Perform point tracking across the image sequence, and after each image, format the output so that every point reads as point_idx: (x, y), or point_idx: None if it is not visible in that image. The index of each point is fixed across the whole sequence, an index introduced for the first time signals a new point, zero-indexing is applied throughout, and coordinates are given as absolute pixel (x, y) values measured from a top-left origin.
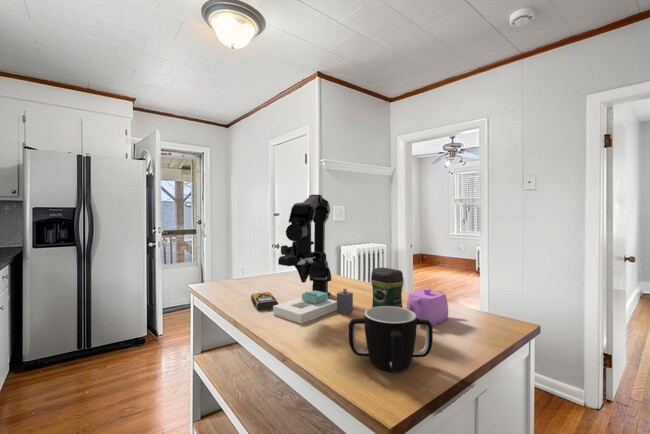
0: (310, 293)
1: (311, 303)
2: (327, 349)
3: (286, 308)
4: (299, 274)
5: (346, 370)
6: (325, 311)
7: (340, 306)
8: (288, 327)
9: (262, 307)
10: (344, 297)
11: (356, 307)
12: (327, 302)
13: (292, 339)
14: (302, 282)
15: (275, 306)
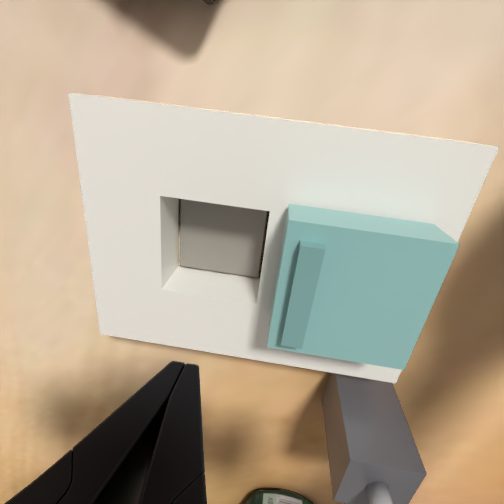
0: (295, 303)
1: None
2: (57, 445)
3: (105, 216)
4: (86, 445)
5: None
6: None
7: (332, 408)
8: (61, 289)
9: None
10: (333, 479)
11: (455, 399)
12: None
13: (16, 356)
14: (173, 368)
15: (74, 119)
